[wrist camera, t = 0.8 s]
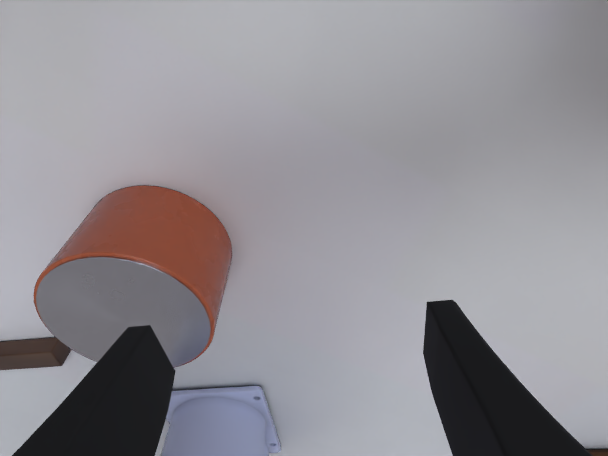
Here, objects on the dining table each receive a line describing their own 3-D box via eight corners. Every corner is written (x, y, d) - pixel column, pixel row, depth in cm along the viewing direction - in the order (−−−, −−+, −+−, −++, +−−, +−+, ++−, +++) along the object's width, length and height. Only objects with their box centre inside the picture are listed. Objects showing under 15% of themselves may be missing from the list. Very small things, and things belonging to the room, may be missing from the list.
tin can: (245, 290, 23) (231, 367, 19) (121, 300, 24) (82, 377, 19) (212, 177, 19) (184, 246, 14) (60, 193, 19) (-7, 263, 15)
